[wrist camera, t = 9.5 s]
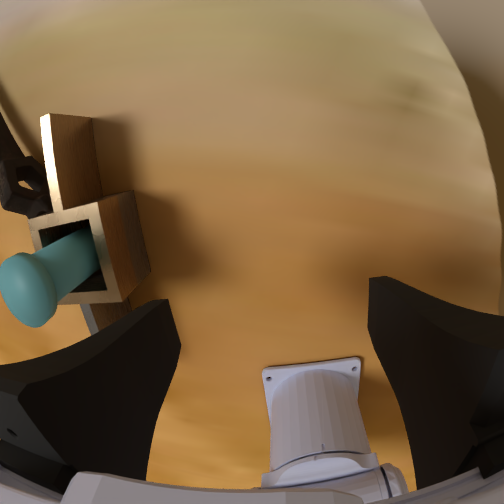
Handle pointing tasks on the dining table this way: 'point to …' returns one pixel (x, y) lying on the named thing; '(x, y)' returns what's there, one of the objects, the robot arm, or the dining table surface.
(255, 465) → the dining table surface
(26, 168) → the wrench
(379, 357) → the robot arm
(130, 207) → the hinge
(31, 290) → the pin
